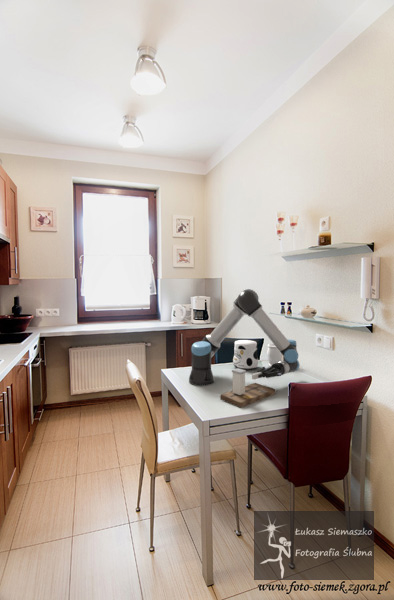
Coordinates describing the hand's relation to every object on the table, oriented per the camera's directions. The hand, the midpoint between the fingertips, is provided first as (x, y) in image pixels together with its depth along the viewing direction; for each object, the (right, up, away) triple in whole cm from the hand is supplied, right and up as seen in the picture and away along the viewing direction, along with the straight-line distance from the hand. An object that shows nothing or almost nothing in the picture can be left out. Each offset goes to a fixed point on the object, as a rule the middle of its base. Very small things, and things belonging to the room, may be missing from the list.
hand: (253, 376), depth 171 cm
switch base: (-3, -10, -3) cm, 11 cm away
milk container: (+4, -6, +50) cm, 51 cm away
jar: (+25, -5, +54) cm, 60 cm away
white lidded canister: (-9, -7, -6) cm, 13 cm away
